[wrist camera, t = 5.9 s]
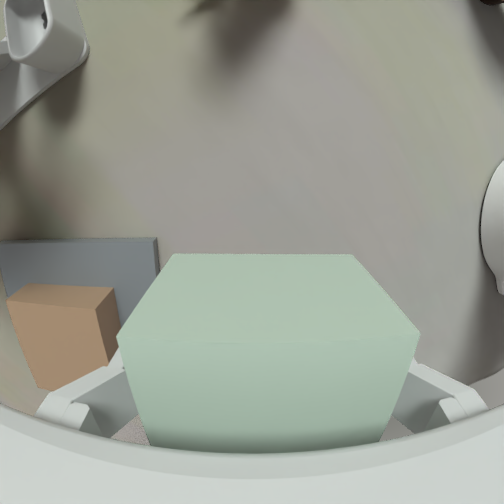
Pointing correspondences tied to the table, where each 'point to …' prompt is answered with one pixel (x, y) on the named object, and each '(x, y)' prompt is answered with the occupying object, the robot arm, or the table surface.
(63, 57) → the phone holder
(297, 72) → the table surface
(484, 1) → the coffee mug
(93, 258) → the baseplate
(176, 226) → the table surface
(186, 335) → the sage brick
